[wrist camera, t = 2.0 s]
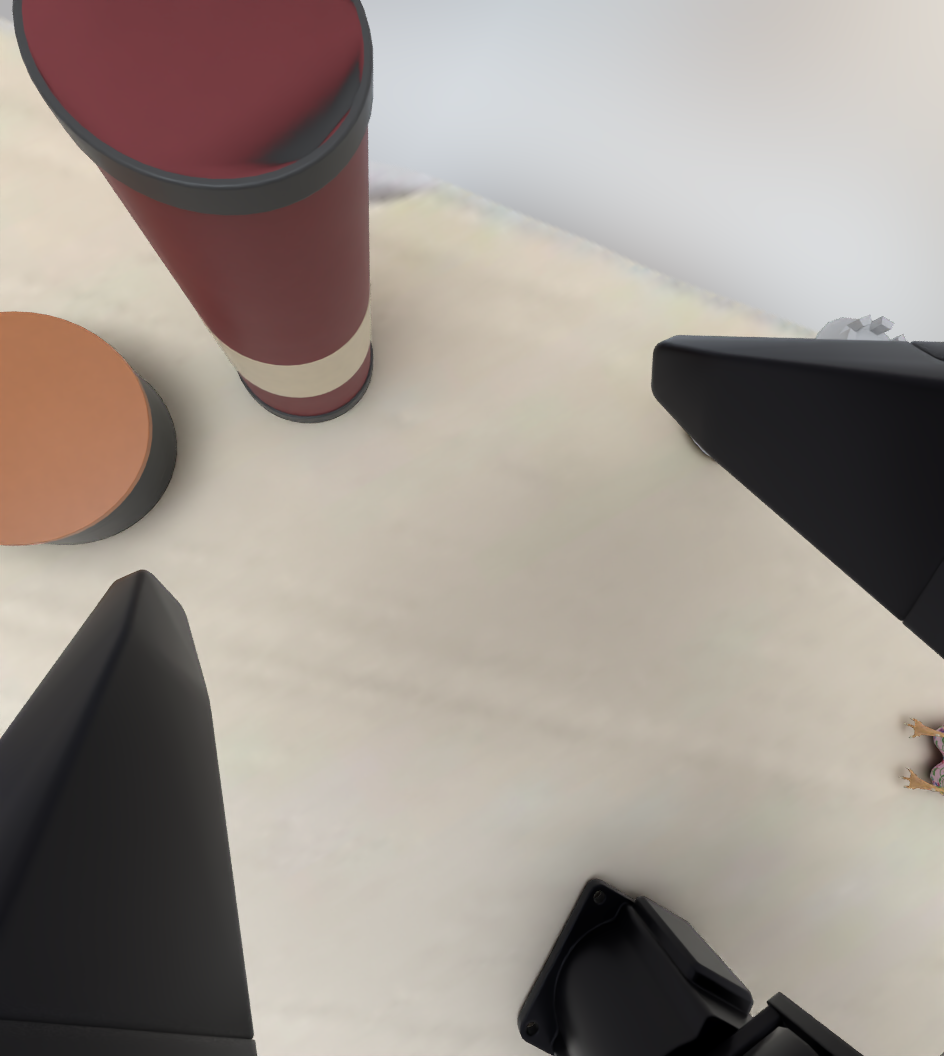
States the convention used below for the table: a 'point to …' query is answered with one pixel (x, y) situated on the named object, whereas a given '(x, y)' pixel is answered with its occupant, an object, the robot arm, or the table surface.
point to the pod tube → (234, 168)
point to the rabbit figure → (940, 774)
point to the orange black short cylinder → (75, 435)
